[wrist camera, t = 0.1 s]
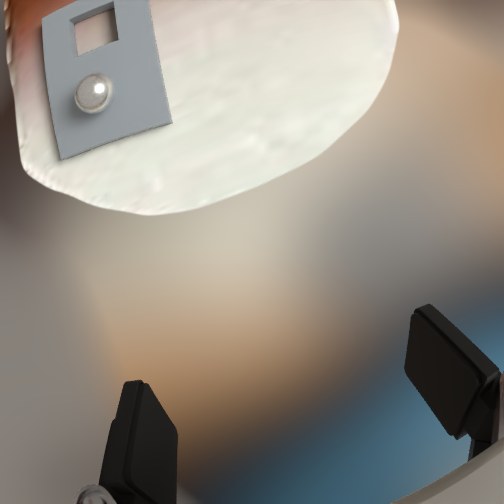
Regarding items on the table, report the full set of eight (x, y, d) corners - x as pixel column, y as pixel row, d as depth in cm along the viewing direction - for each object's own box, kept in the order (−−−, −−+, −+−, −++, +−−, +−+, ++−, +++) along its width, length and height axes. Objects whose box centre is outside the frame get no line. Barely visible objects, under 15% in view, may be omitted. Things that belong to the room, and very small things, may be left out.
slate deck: (48, 22, 25) (41, 18, 23) (146, -18, 26) (143, -24, 24) (67, 158, 33) (61, 160, 32) (172, 122, 34) (170, 122, 32)
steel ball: (81, 84, 29) (64, 78, 24) (117, 70, 29) (104, 61, 24) (88, 120, 30) (71, 119, 26) (124, 107, 31) (111, 102, 26)
